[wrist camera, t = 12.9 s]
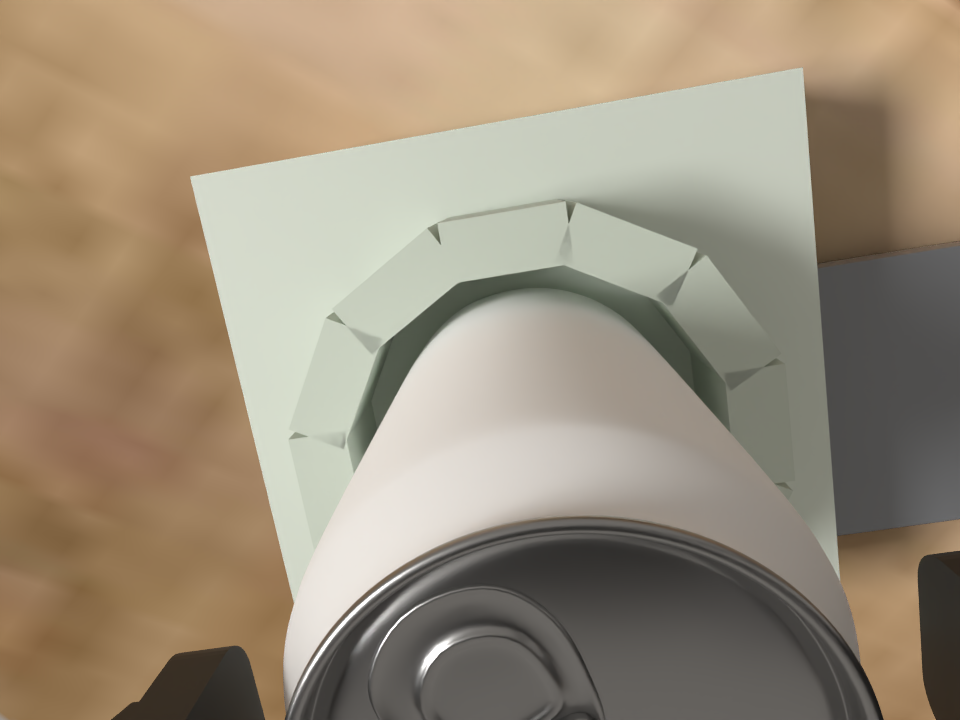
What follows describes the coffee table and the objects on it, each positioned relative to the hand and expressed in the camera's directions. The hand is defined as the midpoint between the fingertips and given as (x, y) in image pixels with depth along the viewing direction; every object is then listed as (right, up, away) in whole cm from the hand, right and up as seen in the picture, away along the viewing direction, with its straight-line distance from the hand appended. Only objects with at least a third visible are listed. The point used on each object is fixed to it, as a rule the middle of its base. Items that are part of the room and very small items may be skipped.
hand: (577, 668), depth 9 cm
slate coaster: (+12, +3, +13) cm, 18 cm away
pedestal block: (0, +3, +14) cm, 14 cm away
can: (0, +2, +10) cm, 10 cm away
